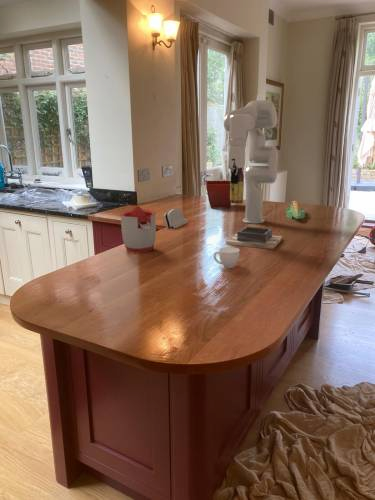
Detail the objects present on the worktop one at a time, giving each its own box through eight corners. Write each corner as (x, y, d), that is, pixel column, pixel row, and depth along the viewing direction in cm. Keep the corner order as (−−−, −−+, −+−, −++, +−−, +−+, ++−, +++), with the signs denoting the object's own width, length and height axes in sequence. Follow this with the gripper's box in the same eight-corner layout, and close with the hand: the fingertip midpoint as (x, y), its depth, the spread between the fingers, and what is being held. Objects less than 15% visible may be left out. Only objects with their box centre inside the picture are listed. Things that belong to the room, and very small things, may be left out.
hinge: (174, 228, 220) (168, 211, 218) (167, 230, 222) (161, 213, 221) (187, 222, 234) (182, 205, 233) (181, 224, 236) (175, 208, 235)
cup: (239, 269, 154) (239, 252, 152) (213, 269, 155) (213, 252, 153) (239, 263, 161) (239, 247, 159) (214, 262, 162) (214, 246, 160)
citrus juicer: (130, 258, 170) (127, 211, 165) (117, 247, 185) (114, 204, 179) (164, 252, 177) (162, 207, 171) (149, 243, 192) (147, 201, 186)
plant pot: (234, 209, 271) (235, 183, 266) (206, 209, 271) (206, 184, 266) (232, 204, 289) (232, 180, 284) (205, 204, 289) (205, 180, 284)
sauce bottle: (228, 201, 195) (229, 159, 189) (241, 201, 195) (242, 159, 189) (231, 204, 188) (231, 160, 183) (244, 203, 189) (245, 160, 183)
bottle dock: (238, 235, 204) (238, 224, 203) (282, 239, 195) (282, 228, 193) (226, 244, 189) (226, 232, 187) (273, 249, 179) (273, 237, 178)
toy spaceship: (306, 223, 228) (307, 210, 225) (287, 222, 230) (288, 210, 227) (302, 212, 258) (303, 201, 256) (285, 212, 260) (286, 200, 258)
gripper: (236, 142, 193) (235, 180, 198) (222, 143, 178) (222, 184, 183) (251, 142, 189) (250, 180, 195) (238, 143, 175) (238, 185, 180)
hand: (236, 182), depth 189 cm, fingers closed on sauce bottle, 6 cm apart
